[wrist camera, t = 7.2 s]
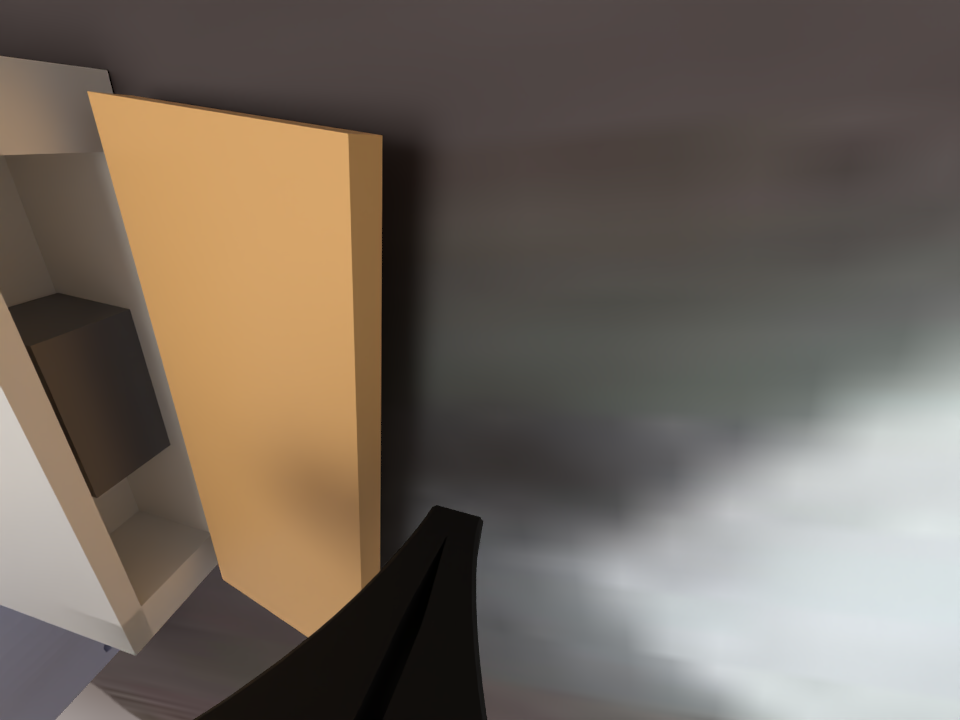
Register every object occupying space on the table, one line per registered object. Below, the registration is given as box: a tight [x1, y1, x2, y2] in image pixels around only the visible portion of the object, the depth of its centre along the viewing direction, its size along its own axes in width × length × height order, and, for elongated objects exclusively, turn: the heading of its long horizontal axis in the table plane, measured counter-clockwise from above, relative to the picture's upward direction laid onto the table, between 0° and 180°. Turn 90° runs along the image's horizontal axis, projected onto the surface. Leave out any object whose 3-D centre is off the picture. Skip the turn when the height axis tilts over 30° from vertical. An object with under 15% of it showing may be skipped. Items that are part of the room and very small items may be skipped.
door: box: [87, 91, 382, 637], centre depth 14 cm, size 19×1×8 cm
